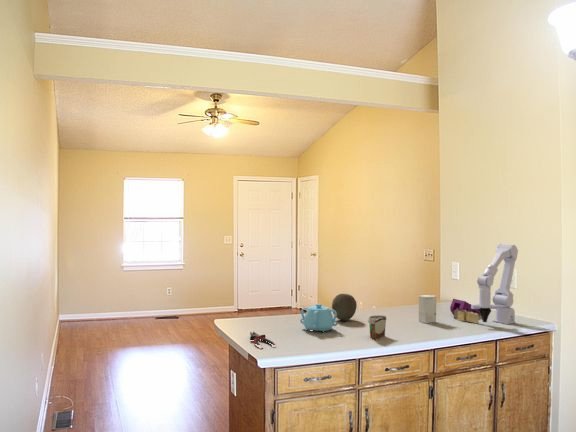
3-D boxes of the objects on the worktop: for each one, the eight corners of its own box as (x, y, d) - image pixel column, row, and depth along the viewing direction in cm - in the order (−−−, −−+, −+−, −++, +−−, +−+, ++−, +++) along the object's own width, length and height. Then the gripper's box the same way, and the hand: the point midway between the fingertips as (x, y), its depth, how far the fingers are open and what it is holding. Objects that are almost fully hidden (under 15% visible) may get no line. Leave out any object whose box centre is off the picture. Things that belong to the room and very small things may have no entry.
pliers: (277, 343, 222) (260, 329, 242) (259, 345, 218) (243, 330, 238) (276, 349, 222) (259, 335, 242) (259, 351, 218) (243, 336, 239)
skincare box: (425, 323, 270) (425, 297, 270) (417, 321, 276) (418, 295, 276) (436, 322, 274) (437, 295, 274) (429, 319, 280) (429, 294, 279)
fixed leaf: (466, 320, 278) (466, 310, 278) (464, 321, 277) (464, 310, 277) (456, 318, 284) (456, 308, 284) (453, 318, 283) (454, 308, 283)
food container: (375, 333, 248) (375, 314, 248) (386, 335, 244) (386, 315, 244) (363, 338, 238) (363, 318, 238) (374, 340, 234) (374, 320, 234)
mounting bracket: (468, 321, 302) (448, 311, 295) (472, 309, 303) (453, 298, 296) (480, 325, 293) (460, 314, 286) (484, 312, 295) (464, 301, 288)
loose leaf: (479, 322, 273) (480, 313, 273) (474, 323, 270) (474, 314, 270) (462, 318, 282) (462, 310, 282) (457, 319, 279) (457, 311, 279)
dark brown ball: (357, 323, 270) (358, 296, 270) (332, 322, 270) (332, 296, 270) (355, 317, 284) (355, 292, 284) (330, 317, 284) (331, 291, 284)
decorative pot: (325, 325, 265) (325, 300, 265) (339, 331, 251) (339, 305, 250) (298, 327, 259) (298, 302, 259) (311, 334, 244) (311, 307, 244)
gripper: (494, 296, 272) (494, 320, 272) (469, 296, 271) (468, 320, 272) (500, 298, 265) (500, 323, 265) (474, 298, 264) (473, 323, 265)
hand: (484, 321), depth 268 cm, fingers closed
